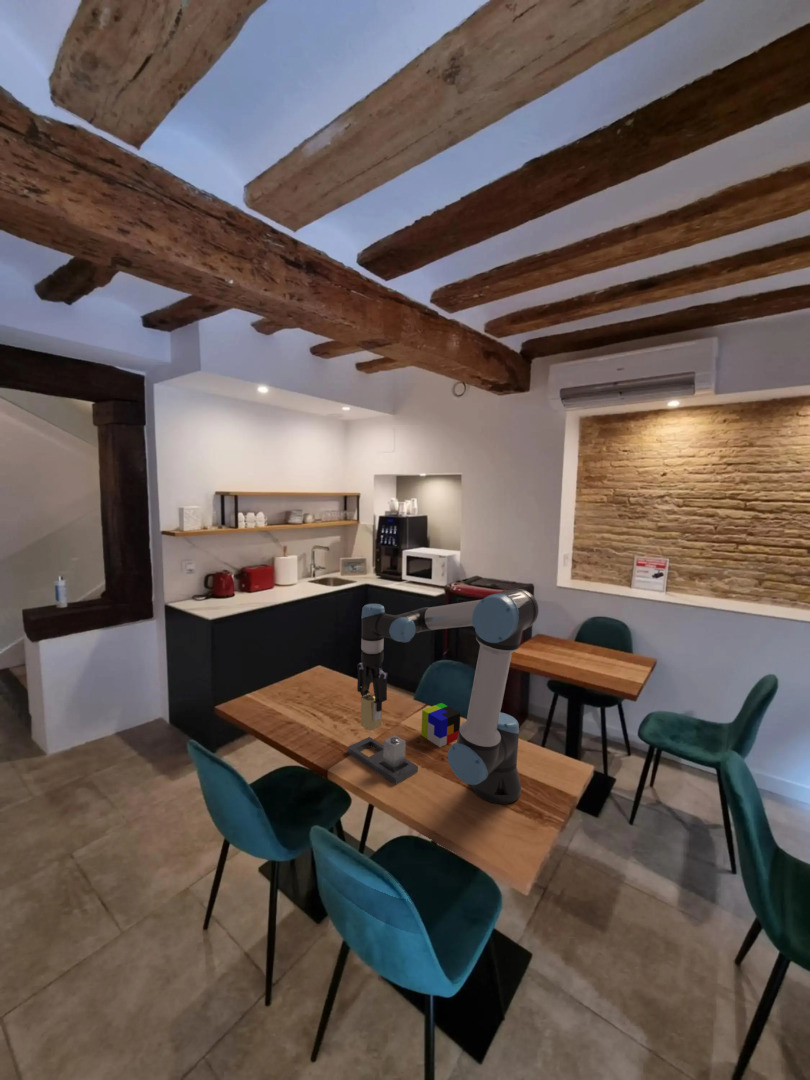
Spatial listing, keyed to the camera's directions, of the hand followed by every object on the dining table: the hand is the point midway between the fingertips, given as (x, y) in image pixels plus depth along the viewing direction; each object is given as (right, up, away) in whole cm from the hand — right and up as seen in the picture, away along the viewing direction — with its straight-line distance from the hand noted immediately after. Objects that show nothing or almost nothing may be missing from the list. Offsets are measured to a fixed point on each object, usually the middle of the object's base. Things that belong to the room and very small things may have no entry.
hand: (371, 716), depth 155 cm
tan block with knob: (0, -3, 0) cm, 3 cm away
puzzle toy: (+25, -14, +15) cm, 32 cm away
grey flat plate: (+4, -14, -3) cm, 15 cm away
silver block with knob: (+8, -15, -7) cm, 18 cm away
